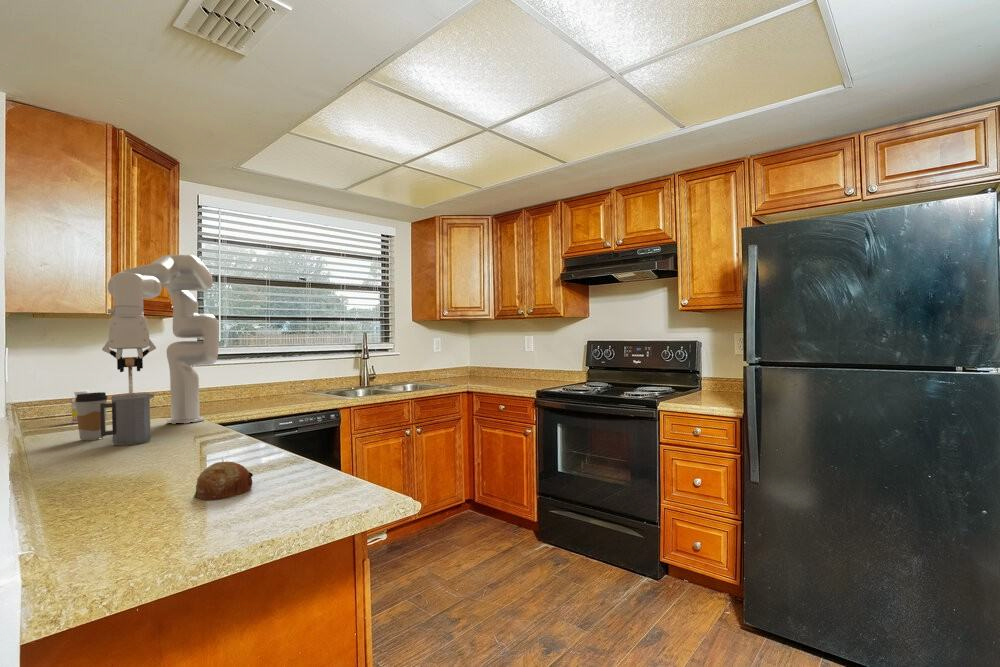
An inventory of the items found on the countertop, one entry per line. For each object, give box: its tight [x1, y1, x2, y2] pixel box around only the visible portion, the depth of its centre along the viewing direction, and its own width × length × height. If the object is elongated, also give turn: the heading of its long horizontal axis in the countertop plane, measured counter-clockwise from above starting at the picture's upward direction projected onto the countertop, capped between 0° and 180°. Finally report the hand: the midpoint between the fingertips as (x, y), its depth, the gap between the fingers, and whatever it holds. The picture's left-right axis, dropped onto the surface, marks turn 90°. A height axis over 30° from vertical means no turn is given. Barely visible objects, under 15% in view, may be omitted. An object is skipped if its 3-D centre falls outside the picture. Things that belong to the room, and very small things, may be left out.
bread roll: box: [193, 461, 254, 501], centre depth 101 cm, size 10×10×8 cm
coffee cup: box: [74, 392, 108, 441], centre depth 167 cm, size 8×8×15 cm
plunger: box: [123, 356, 138, 394], centre depth 158 cm, size 6×6×19 cm
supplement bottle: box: [71, 389, 90, 424], centre depth 208 cm, size 7×7×13 cm
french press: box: [100, 391, 155, 446], centre depth 157 cm, size 9×13×15 cm
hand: (130, 370), depth 158 cm, fingers closed on plunger, 3 cm apart
